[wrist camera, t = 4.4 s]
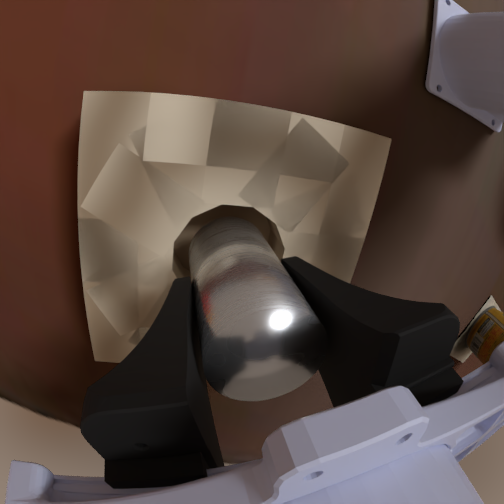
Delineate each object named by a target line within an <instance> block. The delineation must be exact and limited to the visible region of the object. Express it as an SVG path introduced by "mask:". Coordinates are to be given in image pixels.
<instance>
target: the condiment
mask: <svg viewBox="0 0 504 504" xmlns="http://www.w3.org/2000/svg"><path fill="white" fill-rule="evenodd" d="M503 341H504V314H503V313H502V312H501V310H500V309H499V307H498V305H497V304H496V302H495V300H494V298H493V297H492V295H491V297H490V298H489V299H488V301H487V302H486V303H485V305H484V306H483V307H482V308H481V310H480V312H478V314H477V315H476V316H475V318H474V319H473V320H472V322H471V323H470V325H469V326H468V327H467V329H466V331H465V332H464V333H463V334H462V335H461V336H460V337H459V338H458V339H457V341H456V342H455V344H454V347H453V349H452V351H451V353H450V356H452V357H454V358H456V359H457V360H459V361H461V362H462V363H463V362H464V361H465V360H466V359H467V358H468V357H469V355H470V354H471V353H472V352H473V353H474V354H475V355H476V357H477V358H478V359H479V360H480V361H481V362H482V363H483V364H485V363H487V362H488V361H489V359H490V357H491V354H492V353H493V351H494V349H495V348H496V347H497V346H498V345H499V344H500V343H502V342H503Z"/></svg>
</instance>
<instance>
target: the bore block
mask: <svg viewBox="0 0 504 504" xmlns="http://www.w3.org/2000/svg"><path fill="white" fill-rule="evenodd" d="M391 140H392V139H390V138H387V137H384V136H381V135H378V134H375V133H372V132H368V131H365V130H361V129H358V128H355V127H351V126H347V125H344V124H340V123H336V122H332V121H329V120H325V119H321V118H316V117H312V116H308V115H304V114H299V113H295V112H290V111H285V110H280V109H275V108H270V107H264V106H259V105H253V104H247V103H241V102H235V101H228V100H221V99H213V98H205V97H196V96H187V95H176V94H164V93H149V92H127V91H84V95H83V104H82V113H81V124H80V136H79V153H78V232H79V249H80V262H81V273H82V282H83V291H84V299H85V307H86V314H87V320H88V326H89V332H90V338H91V344H92V349H93V354H94V359H95V361H101V362H114V363H120V362H121V361H122V360H123V359H124V358H126V357H127V355H128V354H129V353H130V352H131V351H132V350H133V349H134V348H135V347H136V346H137V344H138V343H139V342H140V341H141V340H142V338H143V337H144V335H145V334H146V333H147V331H148V330H149V328H150V327H151V325H152V324H153V322H154V320H155V318H156V317H157V315H158V313H159V312H160V310H161V308H162V306H163V304H164V302H165V300H166V297H167V295H168V293H169V291H170V288H171V286H172V283H173V281H174V280H175V279H177V278H183V277H188V276H190V277H191V273H190V264H189V247H190V244H191V241H192V239H193V237H194V236H195V234H196V233H197V232H198V230H199V229H201V228H202V227H203V226H204V225H205V224H207V223H209V222H210V221H212V220H215V219H218V218H222V217H238V218H242V219H245V220H247V221H249V222H251V223H252V224H253V225H255V226H256V227H257V228H258V229H259V231H260V232H261V233H262V235H263V236H264V238H265V239H266V241H267V242H268V244H269V245H270V247H271V248H272V250H273V251H274V253H275V254H276V256H277V257H278V259H279V260H280V262H281V259H283V258H288V257H293V256H297V257H299V258H301V259H303V260H304V261H306V262H308V263H310V264H312V265H313V266H315V267H317V268H319V269H321V270H323V271H325V272H326V273H328V274H330V275H332V276H334V277H336V278H338V279H341V280H343V281H345V282H347V283H349V284H350V282H351V279H352V276H353V273H354V270H355V267H356V264H357V262H358V258H359V255H360V252H361V249H362V246H363V243H364V240H365V237H366V233H367V230H368V227H369V224H370V220H371V217H372V213H373V210H374V206H375V203H376V199H377V196H378V192H379V188H380V185H381V181H382V177H383V173H384V169H385V165H386V161H387V157H388V153H389V149H390V144H391Z"/></svg>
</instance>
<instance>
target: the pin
mask: <svg viewBox="0 0 504 504" xmlns="http://www.w3.org/2000/svg"><path fill="white" fill-rule="evenodd" d="M189 264H190V273H191V282H192V289H193V297H194V306H195V314H196V321H197V329H198V336H199V343H200V349H201V356H202V362H203V369H204V373H205V377H206V379H207V381H208V382H209V384H210V385H211V386H212V387H213V388H214V389H215V390H216V391H217V392H219V393H220V394H222V395H224V396H226V397H229V398H232V399H236V400H242V401H261V400H267V399H272V398H275V397H278V396H281V395H284V394H286V393H288V392H290V391H292V390H294V389H296V388H298V387H299V386H301V385H302V384H304V383H305V382H306V381H307V380H308V379H310V378H311V377H312V376H313V375H314V374H315V373H316V371H317V370H318V369H319V367H320V366H321V364H322V363H323V361H324V358H325V356H326V353H327V349H328V336H327V333H326V330H325V328H324V326H323V325H322V323H321V322H320V320H319V319H318V317H317V316H316V314H315V313H314V311H313V310H312V308H311V307H310V305H309V304H308V302H307V301H306V299H305V298H304V296H303V295H302V293H301V292H300V290H299V289H298V287H297V286H296V284H295V283H294V281H293V280H292V278H291V277H290V275H289V274H288V272H287V271H286V269H285V268H284V266H283V265H282V263H281V262H280V260H279V259H278V257H277V256H276V254H275V253H274V251H273V250H272V248H271V247H270V245H269V244H268V242H267V241H266V239H265V238H264V236H263V235H262V233H261V232H260V231H259V229H258V228H257V227H256V226H255V225H253V224H252V223H251V222H249V221H247V220H245V219H242V218H238V217H222V218H218V219H215V220H212V221H210V222H209V223H207V224H205V225H204V226H203V227H202V228H201V229H199V230H198V232H197V233H196V234H195V236H194V237H193V239H192V241H191V244H190V247H189Z"/></svg>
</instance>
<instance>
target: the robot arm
mask: <svg viewBox="0 0 504 504" xmlns="http://www.w3.org/2000/svg"><path fill="white" fill-rule="evenodd" d="M437 87H438V91H437ZM426 89H427V90H428V91H429V92H430V93H432V94H434V95H436V96H438V97H439V98H441V99H443V100H445V101H447V102H449V103H450V104H452V105H454V106H456V107H457V108H459V109H461V110H462V111H464V112H466V113H467V114H469V115H471V116H472V117H474V118H475V119H477V120H479V121H480V122H482V123H483V124H485V125H486V126H488V127H489V128H491V129H492V130H494V131H496V132H500V131H501V128H502V123H503V122H504V12H485V13H470V14H469V13H468V12H467V11H465V10H464V9H463V8H462V7H460V6H459V5H458V4H456V3H455V2H454V1H452V0H435V3H434V17H433V29H432V39H431V48H430V56H429V63H428V70H427V77H426ZM281 263H282V265H283V266H284V268H285V269H286V271H287V272H288V274H289V275H290V277H291V278H292V280H293V281H294V283H295V284H296V286H297V287H298V289H299V290H300V292H301V293H302V295H303V296H304V298H305V299H306V301H307V302H308V304H309V305H310V307H311V308H312V310H313V311H314V313H315V314H316V316H317V317H318V319H319V320H320V322H321V323H322V325H323V326H324V328H325V330H326V333H327V336H328V349H327V353H326V356H325V358H324V361H323V363H322V364H321V366H320V367H319V369H318V370H319V372H320V374H321V377H322V379H323V381H324V384H325V386H326V389H327V391H328V394H329V396H330V399H331V401H332V404H333V407H334V408H331V409H328V410H325V411H322V412H319V413H315V414H312V415H309V416H305V417H302V418H299V419H297V420H295V421H292V422H290V423H287V424H285V425H282V426H281V427H279V428H278V429H277V430H275V431H274V432H273V433H271V434H270V435H269V436H268V437H267V438H266V440H265V442H264V445H263V447H262V455H263V458H262V459H258V460H254V461H249V462H244V463H240V464H235V465H229V466H224V463H223V459H222V455H221V451H220V447H219V443H218V438H217V434H216V430H215V425H214V421H213V416H212V411H211V406H210V402H209V397H208V391H207V384H206V377H205V373H204V369H203V362H202V356H201V349H200V343H199V336H198V329H197V321H196V314H195V306H194V297H193V289H192V282H191V277H190V276H188V277H183V278H177V279H175V280H174V281H173V283H172V286H171V288H170V291H169V293H168V295H167V297H166V300H165V302H164V304H163V306H162V308H161V310H160V312H159V313H158V315H157V317H156V318H155V320H154V322H153V324H152V325H151V327H150V328H149V330H148V331H147V333H146V334H145V335H144V337H143V338H142V340H141V341H140V342H139V343H138V344H137V346H136V347H135V348H134V349H133V350H132V351H131V352H130V353H129V354H128V355H127V357H126V358H124V359H123V360H122V361H121V362H120V363H119V364H118V365H117V366H116V367H115V368H113V369H112V370H111V371H110V372H109V373H107V374H106V375H105V376H103V377H102V378H101V379H99V380H98V381H97V382H95V383H94V384H92V385H91V386H89V387H88V389H87V393H86V396H85V399H84V404H83V410H82V417H81V424H80V429H81V433H82V435H83V436H84V438H85V439H86V440H87V442H88V443H90V445H91V446H92V447H93V448H94V449H95V450H96V451H97V452H98V453H99V454H100V455H101V456H102V457H103V458H104V459H105V476H104V477H80V476H63V475H53V473H52V472H51V471H50V470H48V469H47V468H46V467H44V466H43V465H40V464H37V463H32V462H24V461H16V460H12V461H11V466H10V471H9V477H8V484H7V492H6V500H5V504H484V503H483V501H482V500H481V498H480V497H479V495H478V493H477V492H476V490H475V489H474V487H473V485H472V484H471V482H470V481H469V479H468V478H467V476H466V474H465V473H464V471H463V470H462V468H461V467H460V465H459V464H458V462H459V461H461V460H462V459H463V458H465V457H466V456H467V455H468V454H470V453H471V452H472V451H473V450H475V449H476V448H477V447H478V446H480V445H481V444H482V443H483V442H485V441H486V440H487V439H488V438H489V437H491V435H493V434H494V433H495V432H496V431H497V430H499V429H500V428H501V427H502V426H503V425H504V341H503V342H502V343H500V344H499V345H498V346H497V347H496V348H495V349H494V351H493V353H492V354H491V357H490V359H489V361H488V362H487V363H485V364H484V365H482V366H481V367H479V368H478V369H476V370H474V371H473V372H471V373H470V374H468V375H466V376H465V377H463V378H461V377H460V376H459V375H458V374H457V373H456V371H455V370H454V369H453V368H452V367H453V366H454V361H453V360H452V359H451V357H450V353H451V351H452V349H453V347H454V344H455V342H456V339H457V337H458V333H459V328H460V322H459V319H458V317H457V316H456V315H455V314H454V313H453V312H451V311H450V310H449V309H448V308H447V307H446V306H445V305H444V304H442V303H428V302H416V301H410V300H403V299H398V298H393V297H389V296H385V295H381V294H378V293H374V292H371V291H368V290H365V289H362V288H360V287H357V286H354V285H352V284H349V283H347V282H345V281H343V280H341V279H338V278H336V277H334V276H332V275H330V274H328V273H326V272H325V271H323V270H321V269H319V268H317V267H315V266H313V265H312V264H310V263H308V262H306V261H304V260H303V259H301V258H299V257H297V256H293V257H288V258H283V259H281Z"/></svg>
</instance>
